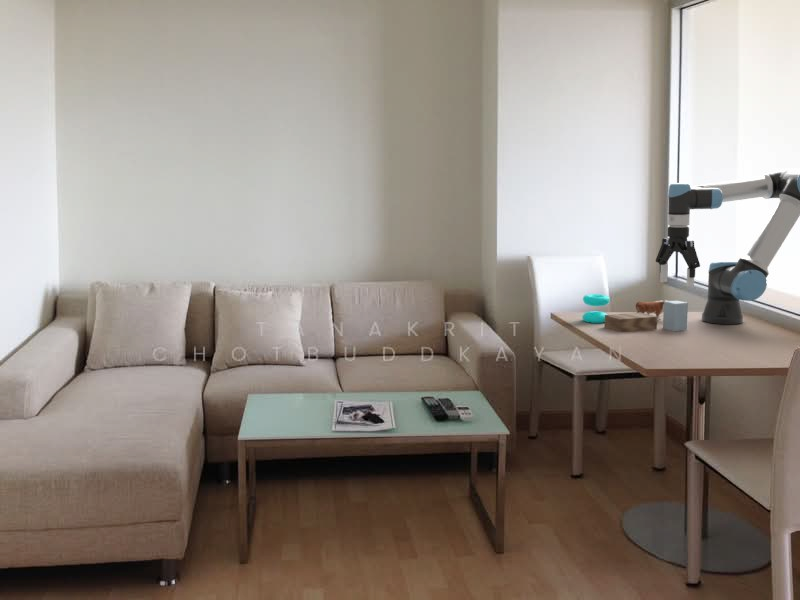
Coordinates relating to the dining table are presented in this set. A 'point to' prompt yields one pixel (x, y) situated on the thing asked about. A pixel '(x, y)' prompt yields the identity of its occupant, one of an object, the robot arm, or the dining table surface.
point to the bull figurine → (651, 307)
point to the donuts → (595, 301)
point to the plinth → (630, 322)
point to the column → (675, 315)
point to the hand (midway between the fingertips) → (676, 284)
